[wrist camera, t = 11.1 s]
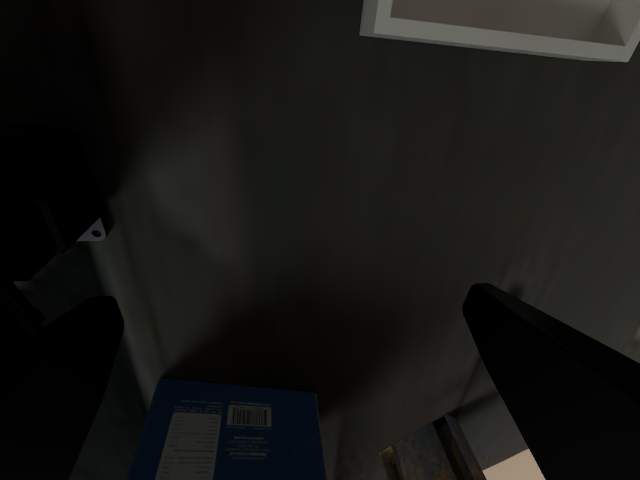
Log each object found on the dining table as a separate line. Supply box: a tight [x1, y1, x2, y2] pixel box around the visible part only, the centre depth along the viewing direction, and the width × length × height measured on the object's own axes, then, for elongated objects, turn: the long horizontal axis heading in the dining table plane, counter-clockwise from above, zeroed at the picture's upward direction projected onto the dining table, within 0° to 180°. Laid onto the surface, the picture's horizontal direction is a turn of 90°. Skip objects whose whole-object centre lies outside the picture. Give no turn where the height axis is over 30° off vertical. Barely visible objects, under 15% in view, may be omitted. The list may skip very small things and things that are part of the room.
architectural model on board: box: [379, 414, 486, 480], centre depth 36 cm, size 11×3×10 cm, turn 137°
